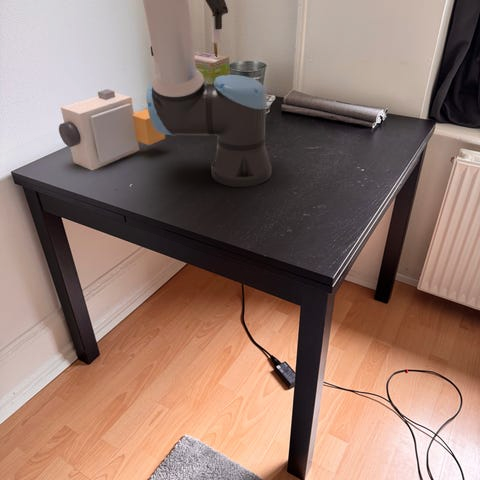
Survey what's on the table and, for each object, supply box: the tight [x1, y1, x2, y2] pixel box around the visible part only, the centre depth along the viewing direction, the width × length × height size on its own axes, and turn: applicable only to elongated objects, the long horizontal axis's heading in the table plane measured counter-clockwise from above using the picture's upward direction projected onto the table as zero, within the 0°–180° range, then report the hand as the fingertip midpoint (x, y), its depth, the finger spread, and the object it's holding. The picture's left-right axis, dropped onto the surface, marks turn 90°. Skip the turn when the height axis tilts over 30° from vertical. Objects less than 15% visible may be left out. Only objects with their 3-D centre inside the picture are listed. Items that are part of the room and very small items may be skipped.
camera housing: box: [58, 89, 140, 171], centre depth 119 cm, size 9×18×16 cm, turn 142°
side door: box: [90, 104, 166, 163], centre depth 118 cm, size 6×18×12 cm, turn 142°
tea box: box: [194, 50, 230, 84], centre depth 161 cm, size 15×10×15 cm, turn 55°
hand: (197, 41), depth 128 cm, fingers open, 13 cm apart
